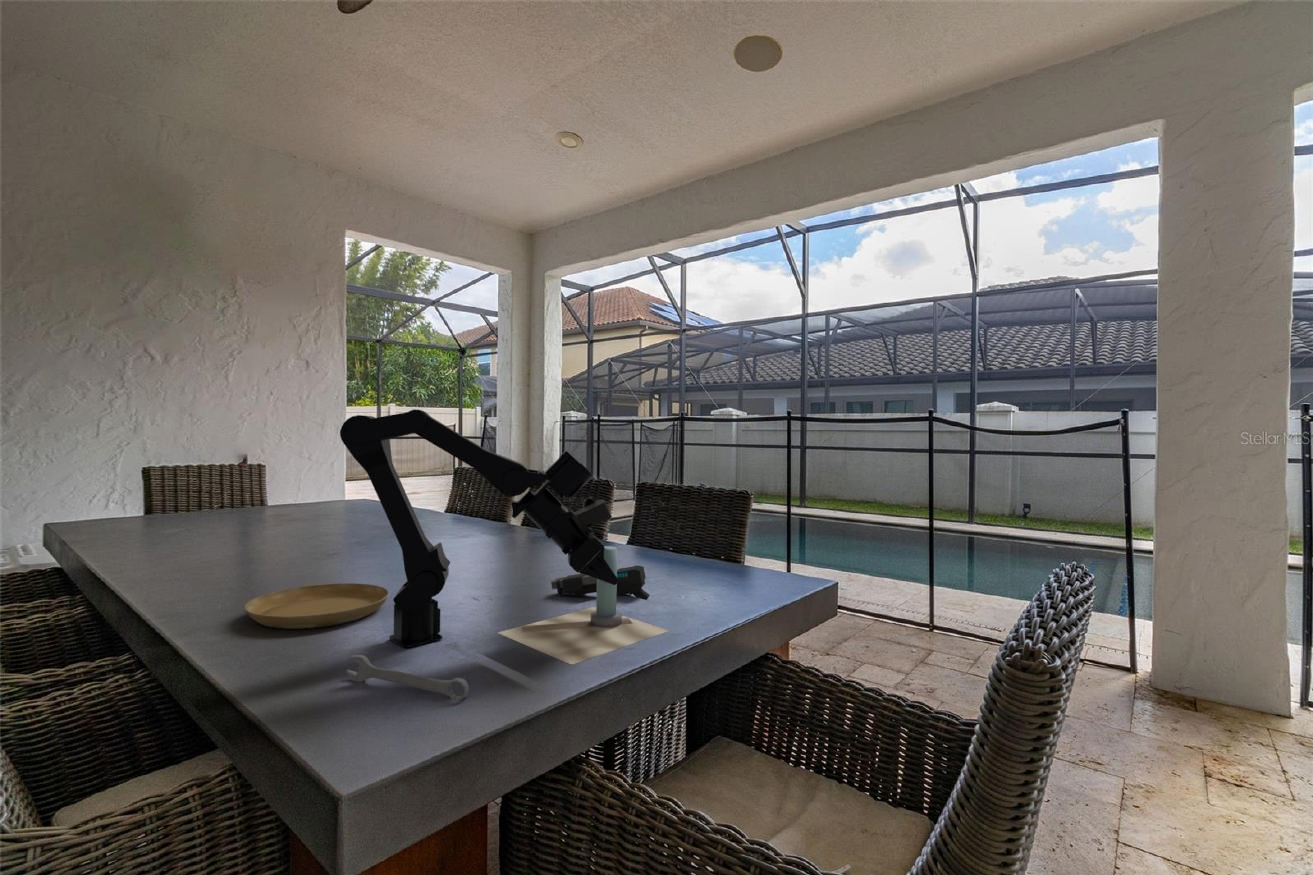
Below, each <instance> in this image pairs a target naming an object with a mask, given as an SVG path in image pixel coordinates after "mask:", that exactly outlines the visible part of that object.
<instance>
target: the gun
mask: <svg viewBox="0 0 1313 875" xmlns="http://www.w3.org/2000/svg"><path fill="white" fill-rule="evenodd" d="M617 578H618V580H619V582H618V583H617V594H616V597H617V596H623V595H628V596H631V595H632V596H634V597H635V598H637V599H641V600H645V601H647V600H648V599H649V598H650V596H651V594H649V593H648V592H647V591H645V590H644V589H643V588H642V587H644V586H645V585H646V581H645V580H646V573H645V566H643V565H633V566H628V567H621V568H617ZM550 583H551V584H550V585H551V589H552V590H556V591H557V594H556V595H557V596H558V597H561V596H563V595H570V596H571V597H579V596H584V595H585V596H586V595H587V594H594V593H596V594H597V579H596V578H594V577H591V576H588V575H585V574H581V573H577V574H570V575H566V576H562V577H557V578H555V579H553V580H552V581H551V582H550Z"/></svg>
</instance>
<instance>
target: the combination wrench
mask: <svg viewBox="0 0 1313 875" xmlns="http://www.w3.org/2000/svg"><path fill="white" fill-rule="evenodd" d="M350 659H351V660H352V661H354V662H355V663H357V664H358V672H356V671H354V670H351V669H347V670H346V673H347V675H348V676H349V678H350V679H351V681H354V682H359V683H362V682H365V681H366V680H369V679H373V678H374V679H378V680H382V681H387V682H390V683H396V684H399V685H404V686H409V687H413V688H417V689H422V690H426V691H429V692H435V693H440V694H443V695H445V696H447V697H448V698H450V699H451V700H459V701H462V700H463V699H465V698H466V697H467V696H468V695H469V691H470V686H469V683H468V682H467V680H466V679H464V678H461V677H455V678H453V679H444V680H443V679H438V678H435V677H434V678H433V677H427V676H422V675H417V674H413V673H407V672H402V671H397V670H392V669H388V668H382V667H376V666H375V665H373V664H372V663H371V662H370V660H369V658H368V657H367V656H365V655H362V654H356V655H355V654H353V655H351V656H350ZM454 683H458V684H460V685H461V686H462V688H463V694H462V695H461V696H460V695H456V694H455V693H454V690H453V685H454Z"/></svg>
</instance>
